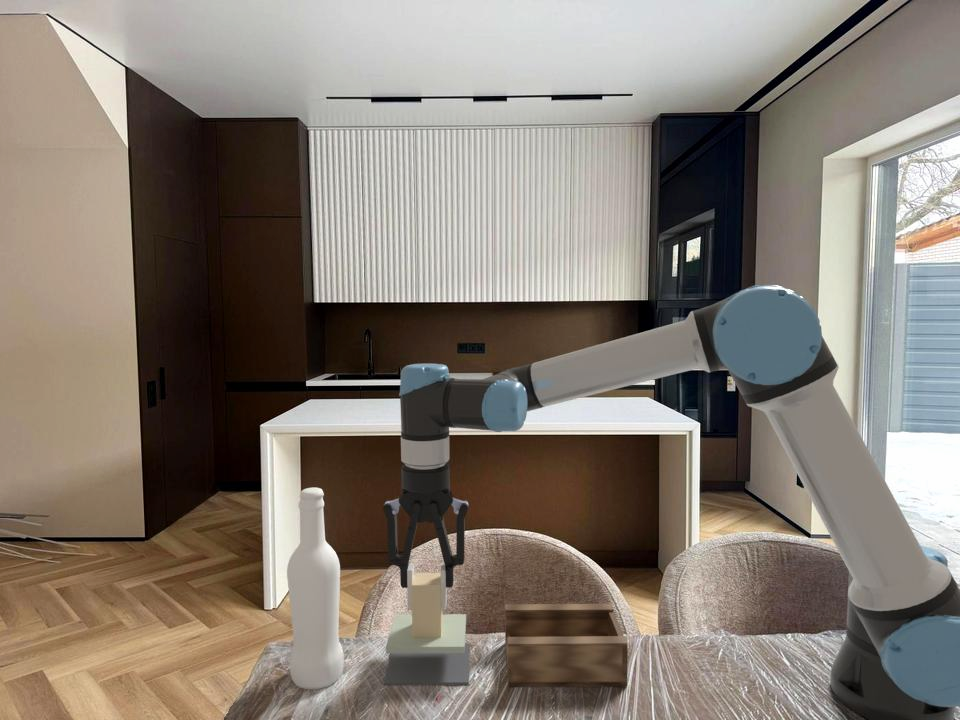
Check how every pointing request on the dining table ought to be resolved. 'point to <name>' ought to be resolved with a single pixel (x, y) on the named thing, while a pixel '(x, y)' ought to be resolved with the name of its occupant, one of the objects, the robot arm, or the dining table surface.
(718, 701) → the dining table surface
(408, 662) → the mat
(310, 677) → the bottle
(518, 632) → the walnut box
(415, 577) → the lid
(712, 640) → the dining table surface
